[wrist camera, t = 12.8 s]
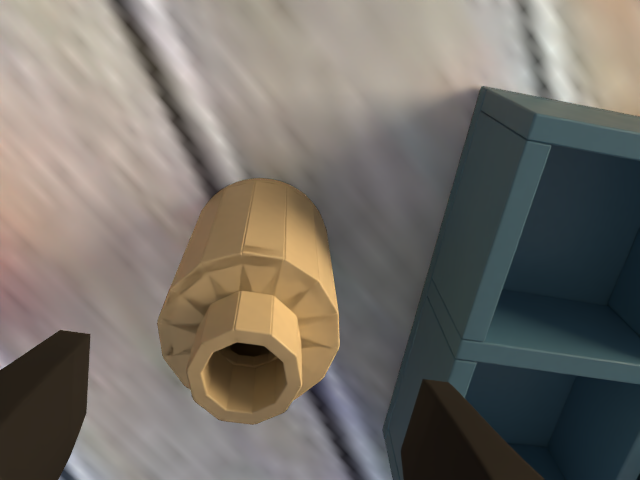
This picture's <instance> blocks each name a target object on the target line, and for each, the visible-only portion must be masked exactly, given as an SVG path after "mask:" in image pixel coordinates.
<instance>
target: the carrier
mask: <svg viewBox="0 0 640 480" xmlns="http://www.w3.org/2000/svg"><path fill="white" fill-rule="evenodd" d="M422 379H428V380H435V381H443V382H449V383H450V384H451V385H452V386H453V387H454V388H455V389H456V390H457V391H458V392H459V393H460V394H461V395H462V396H463V397H464V398H465V399H466V400H467V401H468V402H469V403H470V404H471V405H472V407H473V408H474V409H475V410H476V411H477V412H478V413H479V414H480V415H481V416H482V417H483V418H484V419H485V421H486V422H487V423H488V424H489V425H490V426H491V427H492V428H493V429H494V430H495V431H496V432H497V433H498V434H499V435H500V436H501V437H502V438H503V439H504V440H505V441H506V442H507V444H508V445H509V446H510V447H511V448H512V449H513V450H514V451H515V452H516V453H517V454H519V455H520V456H521V457H522V458H523V459H524V460H525V461H526V462H527V463H528V464H529V465H530V466H531V467H532V468H533V469H534V470H535V471H536V472H537V473H539V474H540V475H541V476H542V477H543V478H544V479H545V480H640V117H639V116H634V115H629V114H624V113H619V112H613V111H608V110H603V109H598V108H593V107H588V106H583V105H577V104H572V103H567V102H562V101H557V100H552V99H547V98H542V97H536V96H531V95H526V94H521V93H516V92H511V91H506V90H501V89H495V88H490V87H485V86H482V87H481V89H480V93H479V96H478V100H477V103H476V107H475V110H474V114H473V117H472V121H471V124H470V127H469V131H468V134H467V138H466V141H465V145H464V148H463V152H462V155H461V159H460V162H459V166H458V169H457V173H456V176H455V180H454V183H453V187H452V190H451V194H450V197H449V201H448V204H447V208H446V211H445V215H444V218H443V222H442V225H441V228H440V232H439V235H438V239H437V242H436V246H435V249H434V253H433V256H432V260H431V263H430V267H429V270H428V274H427V277H426V281H425V284H424V288H423V291H422V295H421V298H420V302H419V305H418V309H417V312H416V316H415V319H414V323H413V326H412V329H411V333H410V336H409V340H408V343H407V347H406V350H405V354H404V357H403V361H402V364H401V368H400V371H399V375H398V378H397V382H396V385H395V389H394V392H393V396H392V399H391V403H390V406H389V410H388V413H387V417H386V420H385V424H384V427H383V435H384V439H385V444H386V449H387V454H388V459H389V463H390V468H391V473H392V478H393V480H404V479H403V470H402V460H401V447H402V444H403V441H404V438H405V434H406V431H407V428H408V425H409V422H410V418H411V415H412V412H413V409H414V405H415V402H416V399H417V396H418V392H419V389H420V386H421V383H422Z"/></svg>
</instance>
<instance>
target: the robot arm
mask: <svg viewBox="0 0 640 480" xmlns="http://www.w3.org/2000/svg"><path fill="white" fill-rule="evenodd" d="M89 351H90V334H86V333H78V332H71V331H63V330H60V331H58V332H57V333H55V334H54V335H52V336H51V337H49V338H48V339H46V340H44V341H43V342H42V343H40V344H39V345H37V346H36V347H34V348H33V349H31V350H30V351H28V352H27V353H25V354H24V355H22V356H21V357H19V358H18V359H16V360H15V361H14V362H12V363H11V364H9V365H7V366H6V367H4V368H3V369H1V370H0V480H58V479H59V477H60V475H61V473H62V471H63V469H64V467H65V465H66V463H67V461H68V459H69V457H70V455H71V453H72V450H73V447H74V445H75V442H76V440H77V437H78V434H79V432H80V429H81V426H82V423H83V421H84V418H85V415H86V409H87V390H88V370H89ZM401 460H402V470H403V479H404V480H545V479H544V478H543V477H542V476H541V475H540V474H539V473H537V472H536V471H535V470H534V469H533V468H532V467H531V466H530V465H529V464H528V463H527V462H526V461H525V460H524V459H523V458H522V457H521V456H520V455H519V454H517V453H516V452H515V451H514V450H513V449H512V448H511V447H510V446H509V445H508V444H507V442H506V441H505V440H504V439H503V438H502V437H501V436H500V435H499V434H498V433H497V432H496V431H495V430H494V429H493V428H492V427H491V426H490V425H489V424H488V423H487V422H486V421H485V419H484V418H483V417H482V416H481V415H480V414H479V413H478V412H477V411H476V410H475V409H474V408H473V407H472V405H471V404H470V403H469V402H468V401H467V400H466V399H465V398H464V397H463V396H462V395H461V394H460V393H459V392H458V391H457V390H456V389H455V388H454V387H453V386H452V385H451V384H450V383H449V382H443V381H435V380H428V379H422V383H421V386H420V389H419V392H418V396H417V399H416V402H415V405H414V409H413V412H412V415H411V418H410V422H409V425H408V428H407V431H406V434H405V438H404V441H403V444H402V447H401Z"/></svg>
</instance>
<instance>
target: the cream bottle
mask: <svg viewBox="0 0 640 480" xmlns="http://www.w3.org/2000/svg"><path fill="white" fill-rule="evenodd" d="M157 325H158V331H159V337H160V343H161V349H162V356H163V357H164V360H165V361H166V362H167V364H168V365H169V366H170V367H171V369H172V370H173V371H174V373H175V374H176V375H177V377H178V378H179V379H180V381H181V382H182V383H183V385H184V386H186V387H187V388H189V389H190V390H191V393H192V397H193V400H194V401H195V402H196V403H197V404H199V405H200V406H201V407H203V408H204V409H205V410H207V411H208V412H209V413H210V414H212V415H213V416H214V417H216V418H217V419H218V420H221V421H227V422H235V423H243V424H252V425H253V424H258V423H260V422H262V421H265V420H267V419H270V418H272V417H275V416H277V415H279V414H282V413H284V412H285V411H286V410H287V409H288V407H289V406H290V404H291V403H292V401H293V400H295V399H296V398H298V397H299V396H301V395H302V394H303V393H305V392H306V391H307V390H309V389H310V388H311V387H313V386H314V385H315V384H317V383H318V382H319V381H321V380H322V379H323V378H324V376H325V374H326V372H327V371H328V369H329V367H330V365H331V363H332V361H333V359H334V357H335V355H336V353H337V351H338V349H339V346H340V343H339V312H338V305H337V299H336V292H335V285H334V278H333V271H332V264H331V257H330V251H329V244H328V237H327V230H326V227H325V225H324V223H323V219H322V217H321V215H320V213H319V211H318V210H317V208H316V206H315V205H314V204H313V203H312V201H311V200H310V199H309V198H308V197H307V196H306V195H305V194H303V193H302V192H301V191H299V190H298V189H296V188H295V187H293V186H291V185H289V184H286V183H284V182H281V181H277V180H273V179H265V178H253V179H247V180H242V181H239V182H236V183H233V184H231V185H229V186H227V187H225V188H223V189H222V190H220V191H219V192H218V193H217V194H215V195H214V196H213V197H212V198H211V199H210V200H209V201H208V203H207V204H206V206H205V207H204V208H203V209H202V211H201V213H200V216H199V218H198V221H197V223H196V226H195V228H194V231H193V233H192V235H191V238H190V240H189V243H188V245H187V248H186V250H185V253H184V255H183V257H182V260H181V262H180V265H179V267H178V270H177V272H176V275H175V277H174V279H173V282H172V284H171V287H170V289H169V292H168V294H167V297H166V300H165V302H164V305H163V308H162V310H161V313H160V315H159V318H158V323H157Z"/></svg>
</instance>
